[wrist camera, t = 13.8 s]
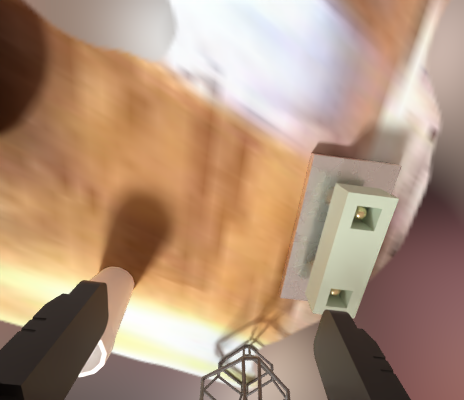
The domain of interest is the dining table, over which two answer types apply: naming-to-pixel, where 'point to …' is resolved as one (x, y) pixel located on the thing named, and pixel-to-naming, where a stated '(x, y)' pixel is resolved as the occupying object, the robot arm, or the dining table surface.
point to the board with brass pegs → (326, 211)
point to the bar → (348, 247)
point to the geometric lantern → (245, 386)
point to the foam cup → (110, 314)
